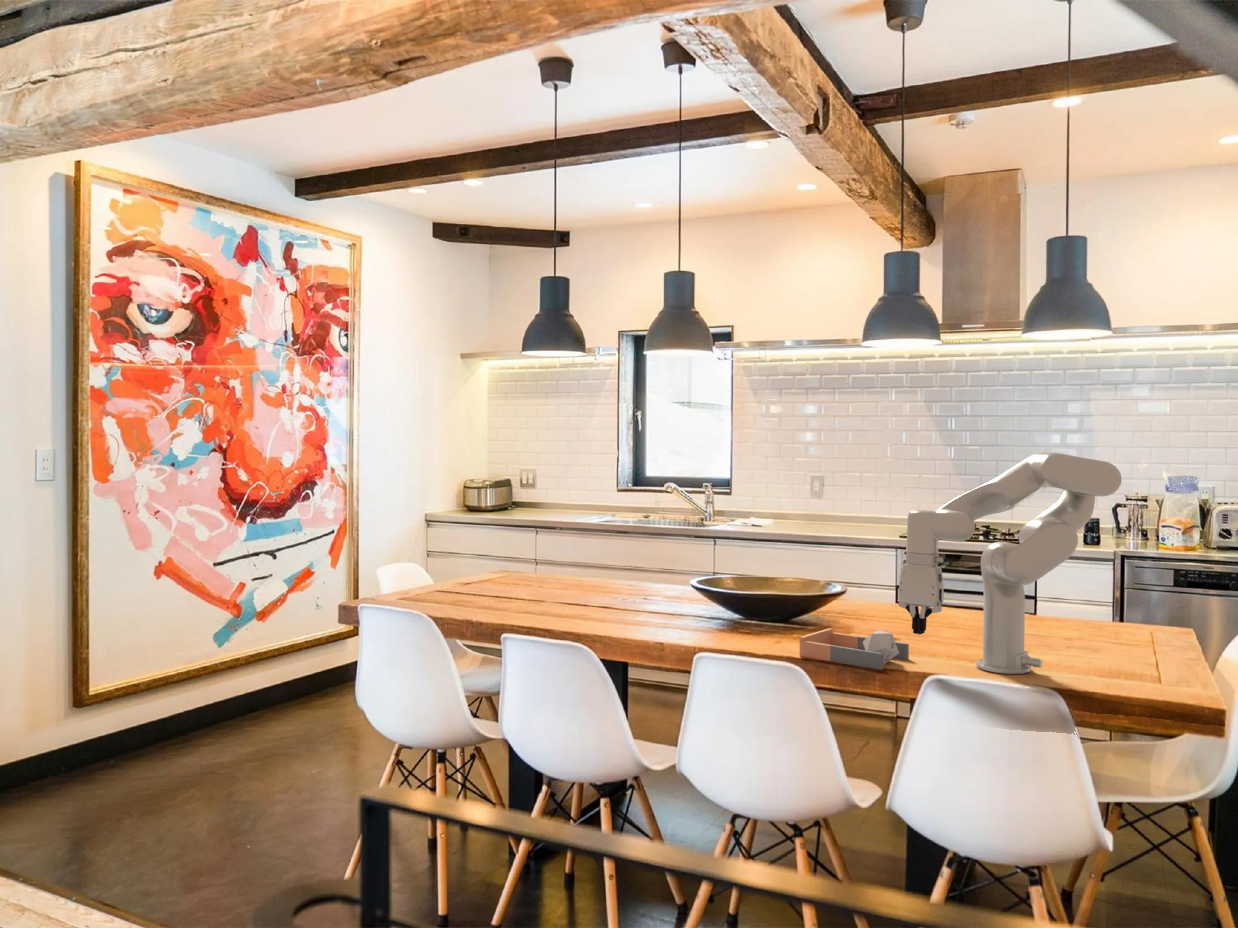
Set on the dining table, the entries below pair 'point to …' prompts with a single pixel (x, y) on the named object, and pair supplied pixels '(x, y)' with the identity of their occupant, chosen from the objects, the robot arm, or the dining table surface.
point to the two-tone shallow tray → (845, 649)
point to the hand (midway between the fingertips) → (918, 633)
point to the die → (882, 645)
